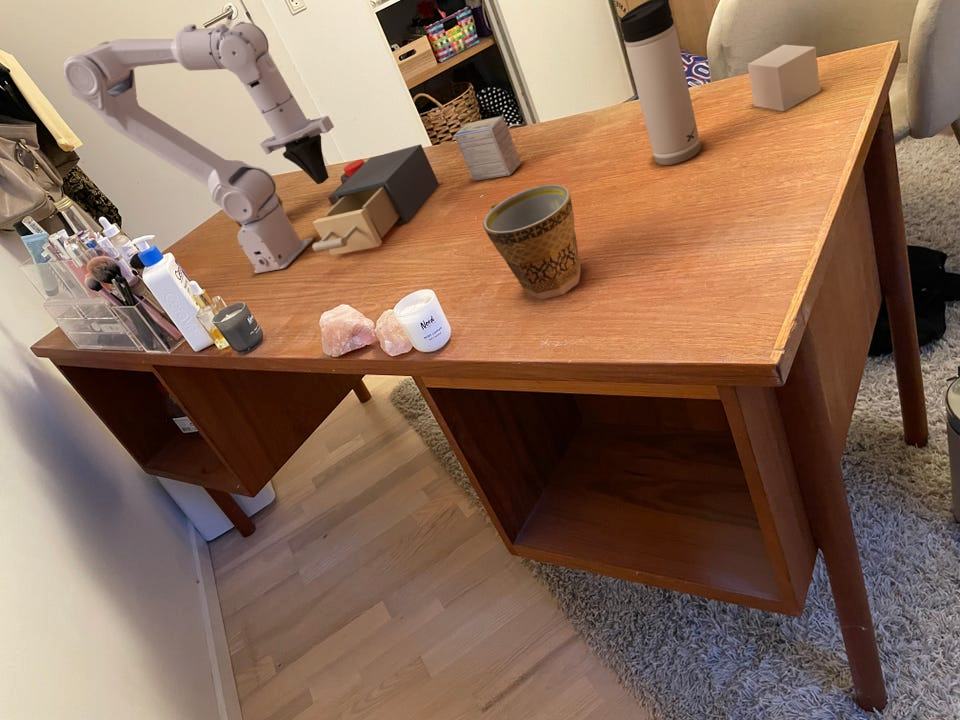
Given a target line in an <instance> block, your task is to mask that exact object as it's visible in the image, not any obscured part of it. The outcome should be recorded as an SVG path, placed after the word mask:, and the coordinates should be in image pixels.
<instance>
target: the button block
mask: <svg viewBox="0 0 960 720" xmlns="http://www.w3.org/2000/svg"><path fill="white" fill-rule="evenodd" d="M364 162H365V163H366V162H367V161H364ZM349 178H350V177H347V175H346V173H345V172H343V174H341V176H340V182H341V184H340V185H339V186H338V187H337V188H335V190H333V192H332V193H331V194H330V195H329V196H327V199H328V201H329V203H330V205H331V206H334V205H335V204H336V203H337V202H338V201H337V199H336V197H335V195H334V193H335V192H336V191H337V190H338V189H339V188H340V187H341V186H342V185H343V184H344V183H345V182H346V181H347V180H348V179H349Z"/></svg>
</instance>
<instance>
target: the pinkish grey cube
mask: <svg viewBox="0 0 960 720" xmlns="http://www.w3.org/2000/svg"><path fill="white" fill-rule="evenodd" d="M747 71H748V76H749V77H748V78H749V82H750V87H751V95H752V101H753V106H754V107H757V108H758V107H759V108H764V109H769V110H774V111H779V112H785V111H787V110H790V109H791V108H792V107H794V106H796V105H798V104H799V103H802V102H803V101H805V100H807V99H809V98H811V97H813V96H814V95H816V94H818V93H820V92H821V85H820V75H819V67H818V56H817V48H816V46H807V45H794V44H792V45H791V44H782V45H780V46H779V47H777V48H775V49H773V50H771V51H768V52H767V53H766V54H764V55H762V56H760V57H758V58H756V59H754V60H753V61H751V62H749V63H747Z"/></svg>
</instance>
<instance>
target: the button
mask: <svg viewBox="0 0 960 720" xmlns="http://www.w3.org/2000/svg"><path fill="white" fill-rule="evenodd" d="M365 162H366V161H364V159H356V160H354V161H353V162H350V163H349V164H347V165H346V166H345V167H343V171H344V173H346V175H347V177H351V176H352V175H353V174H354V173H355V172H356V171H357V170H359V169H360V168H361V167H362V166H363V165H364V164H365Z"/></svg>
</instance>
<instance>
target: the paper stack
mask: <svg viewBox="0 0 960 720" xmlns="http://www.w3.org/2000/svg"><path fill="white" fill-rule="evenodd" d="M453 137H454V139H455V141H456V143H457V146H458V148H459V151H460V153H461V155H462V158H463V160H464V163H465V165H466V167H467V169H468V171H469V174H470V177H471V178H472V180H473V181H474V182H475V181H482V180H488V179H496V178H501V177H507V176H509V177H510V176H511V175H513V174H514V172H515V171H516V170H517V169H518V168H519V167H520V166H521V164H522V160H521V157H520V155H519V153H518V150H517V148H516V144H515V142H514V139H513V137H512V134H511V132H510V129H509V127H508V125H507V122H506V119H505V117H504V116H503V115H500V116H495V117H490V118H486V119H480V120H477V121H473V122H468V123H465V124H464V125H463V126H462V127H461V128H459V130H458V131H457V132H456V133H455V134H454V135H453Z"/></svg>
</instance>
